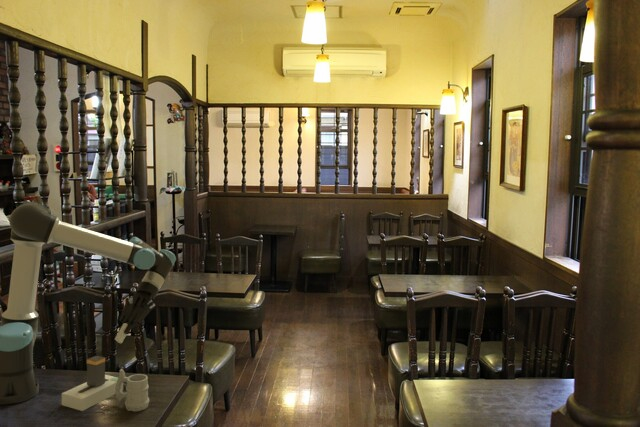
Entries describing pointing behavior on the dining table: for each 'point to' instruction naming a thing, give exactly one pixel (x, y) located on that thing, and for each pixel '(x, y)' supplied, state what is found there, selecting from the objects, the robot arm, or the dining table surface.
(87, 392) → the switch box
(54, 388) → the dining table surface
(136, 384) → the mug
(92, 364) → the lever
